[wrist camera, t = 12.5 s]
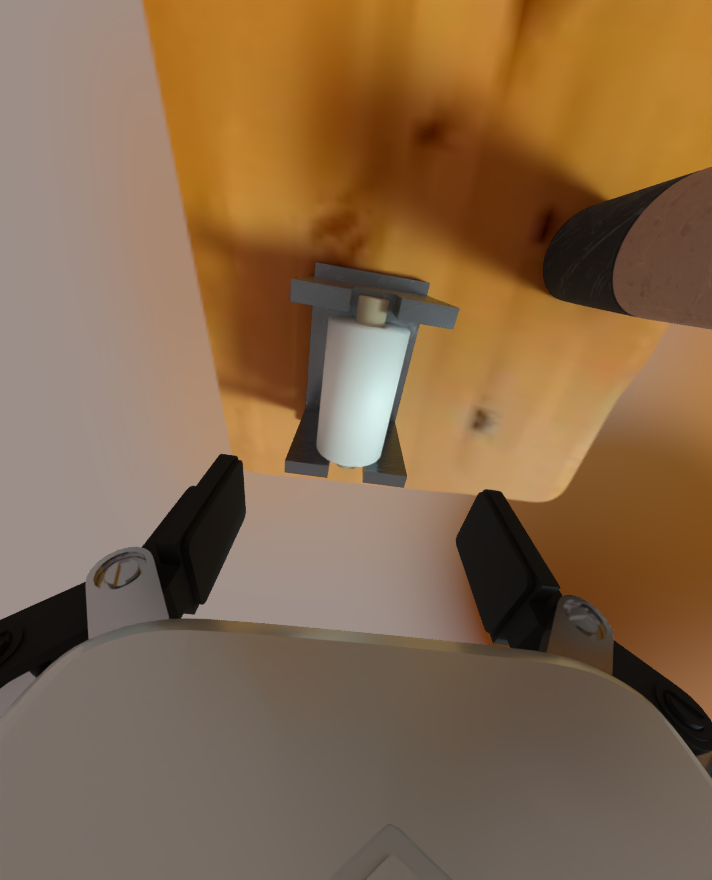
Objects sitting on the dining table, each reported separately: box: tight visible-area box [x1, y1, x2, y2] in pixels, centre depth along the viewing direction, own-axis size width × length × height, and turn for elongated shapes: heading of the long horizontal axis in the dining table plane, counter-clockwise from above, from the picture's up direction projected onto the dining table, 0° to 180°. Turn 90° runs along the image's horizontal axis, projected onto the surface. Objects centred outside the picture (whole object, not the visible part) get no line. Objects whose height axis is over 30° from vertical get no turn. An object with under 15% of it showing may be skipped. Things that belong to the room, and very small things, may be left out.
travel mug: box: [543, 167, 712, 329], centre depth 16 cm, size 8×8×20 cm
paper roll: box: [316, 295, 410, 469], centre depth 22 cm, size 13×6×6 cm, turn 171°
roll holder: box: [285, 262, 460, 488], centre depth 25 cm, size 16×10×11 cm, turn 171°
